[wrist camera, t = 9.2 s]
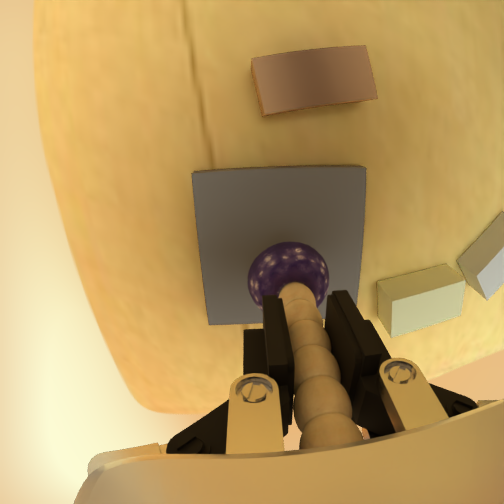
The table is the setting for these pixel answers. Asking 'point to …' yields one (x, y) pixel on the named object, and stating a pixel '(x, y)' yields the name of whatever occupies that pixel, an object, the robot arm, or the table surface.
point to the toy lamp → (306, 341)
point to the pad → (275, 228)
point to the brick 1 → (313, 79)
